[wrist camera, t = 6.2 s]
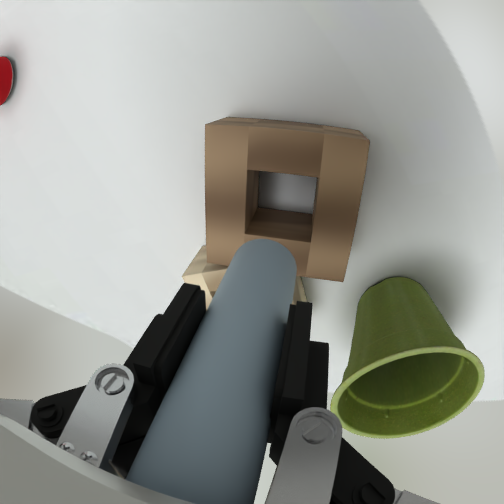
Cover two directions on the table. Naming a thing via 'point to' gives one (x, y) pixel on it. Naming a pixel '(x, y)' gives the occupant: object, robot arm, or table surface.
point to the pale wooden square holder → (221, 277)
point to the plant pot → (403, 365)
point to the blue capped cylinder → (224, 387)
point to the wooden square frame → (290, 162)
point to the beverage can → (5, 79)
